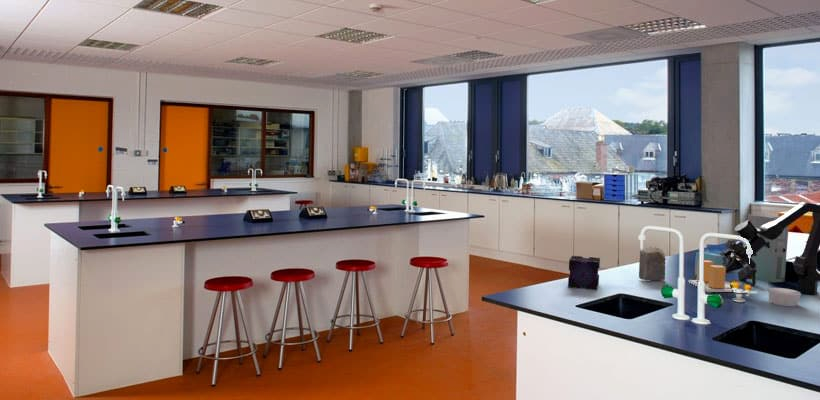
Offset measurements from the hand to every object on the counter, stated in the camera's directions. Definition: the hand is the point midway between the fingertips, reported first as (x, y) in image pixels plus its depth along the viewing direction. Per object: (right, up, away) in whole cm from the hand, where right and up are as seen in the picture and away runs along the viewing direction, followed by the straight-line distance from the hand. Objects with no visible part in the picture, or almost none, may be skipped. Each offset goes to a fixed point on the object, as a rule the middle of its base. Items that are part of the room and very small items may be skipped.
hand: (723, 272), depth 266 cm
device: (+34, -7, +30) cm, 46 cm away
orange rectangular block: (-3, -6, +1) cm, 7 cm away
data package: (+6, -6, +27) cm, 29 cm away
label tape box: (+22, -4, +52) cm, 57 cm away
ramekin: (+14, -11, -19) cm, 26 cm away
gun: (+20, -7, +20) cm, 29 cm away
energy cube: (-59, -7, +4) cm, 60 cm away
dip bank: (0, -8, +7) cm, 10 cm away
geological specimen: (-24, -6, +19) cm, 31 cm away
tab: (-3, -5, +12) cm, 14 cm away
